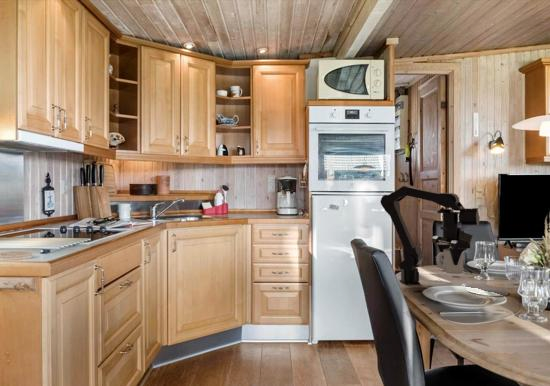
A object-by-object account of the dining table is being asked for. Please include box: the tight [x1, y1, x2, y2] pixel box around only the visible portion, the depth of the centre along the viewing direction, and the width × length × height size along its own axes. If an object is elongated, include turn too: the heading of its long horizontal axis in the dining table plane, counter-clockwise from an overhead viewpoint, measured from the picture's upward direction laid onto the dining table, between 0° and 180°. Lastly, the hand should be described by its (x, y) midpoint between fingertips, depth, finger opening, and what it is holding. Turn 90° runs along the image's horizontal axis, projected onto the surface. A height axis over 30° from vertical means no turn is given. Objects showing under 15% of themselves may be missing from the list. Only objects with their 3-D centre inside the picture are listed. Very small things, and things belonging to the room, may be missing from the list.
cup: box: [436, 249, 464, 275], centre depth 166 cm, size 7×10×9 cm
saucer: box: [465, 284, 509, 297], centre depth 160 cm, size 15×15×1 cm
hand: (450, 263), depth 165 cm, fingers closed on cup, 7 cm apart
